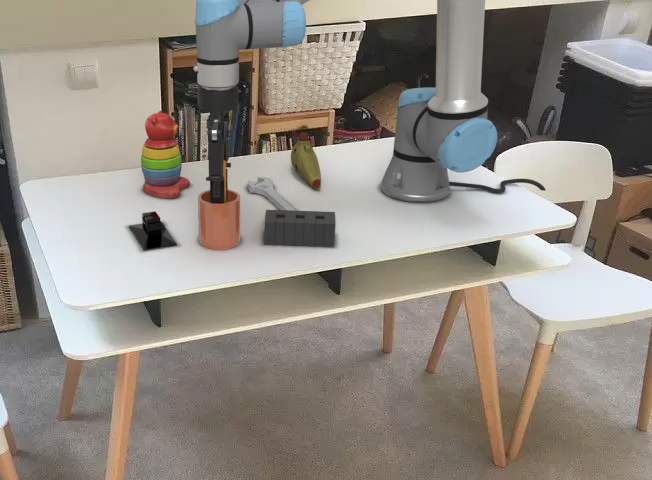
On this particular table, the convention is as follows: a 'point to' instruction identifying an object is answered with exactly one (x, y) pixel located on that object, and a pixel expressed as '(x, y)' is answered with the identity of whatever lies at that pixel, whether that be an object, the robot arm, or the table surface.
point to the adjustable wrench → (270, 193)
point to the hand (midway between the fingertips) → (219, 205)
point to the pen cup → (219, 221)
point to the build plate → (152, 233)
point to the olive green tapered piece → (306, 161)
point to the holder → (299, 228)
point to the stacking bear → (162, 158)
